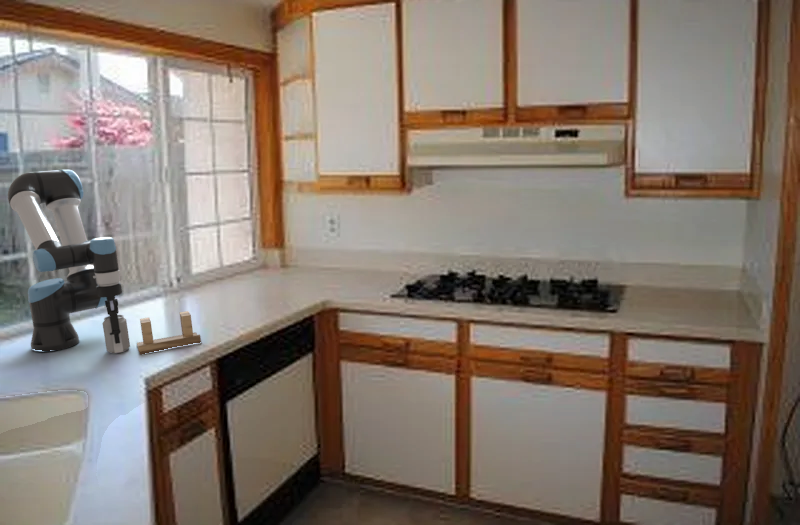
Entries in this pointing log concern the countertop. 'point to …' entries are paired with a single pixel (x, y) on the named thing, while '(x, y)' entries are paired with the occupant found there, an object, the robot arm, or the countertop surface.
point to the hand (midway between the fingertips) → (118, 348)
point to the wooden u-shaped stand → (167, 342)
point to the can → (122, 327)
